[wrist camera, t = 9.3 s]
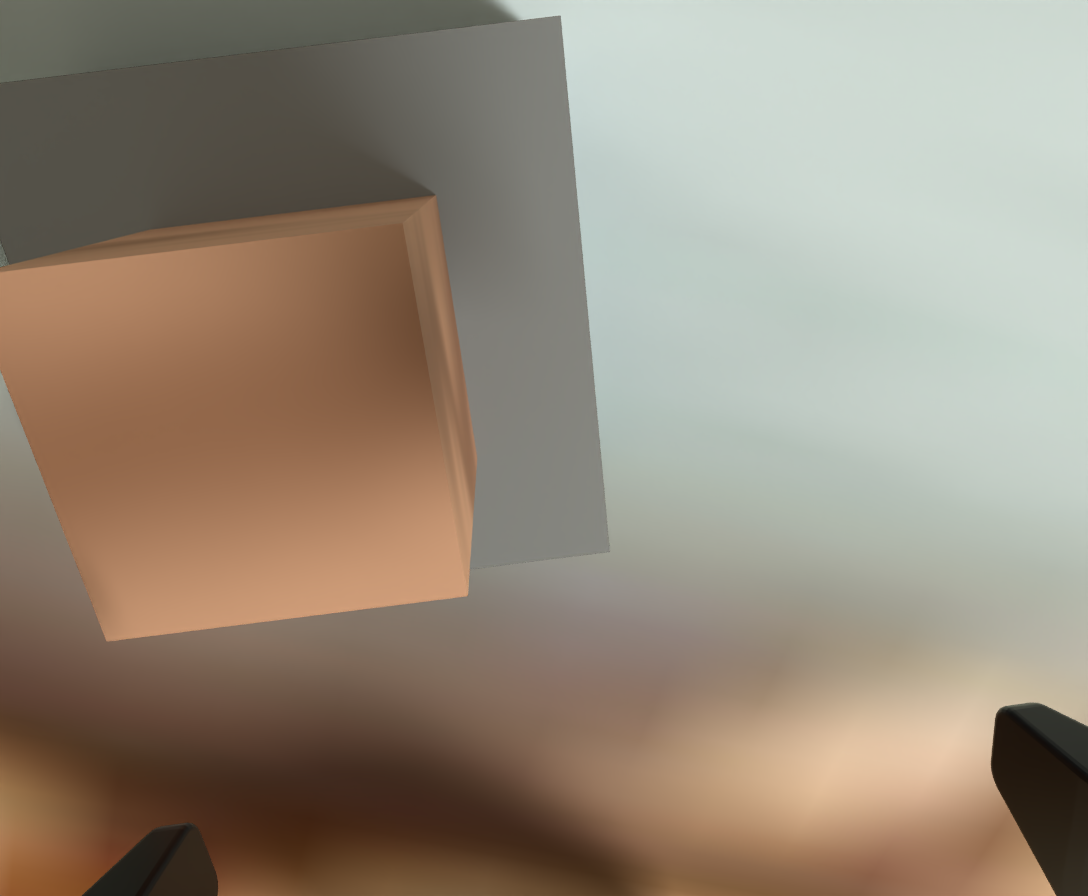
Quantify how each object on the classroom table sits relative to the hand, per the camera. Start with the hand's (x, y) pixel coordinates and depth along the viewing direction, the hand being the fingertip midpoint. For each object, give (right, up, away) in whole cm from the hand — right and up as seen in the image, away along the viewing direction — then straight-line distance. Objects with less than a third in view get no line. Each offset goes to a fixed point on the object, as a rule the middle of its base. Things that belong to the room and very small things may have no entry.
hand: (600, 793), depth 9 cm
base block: (-5, +7, +9) cm, 13 cm away
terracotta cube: (-5, +6, +6) cm, 9 cm away
